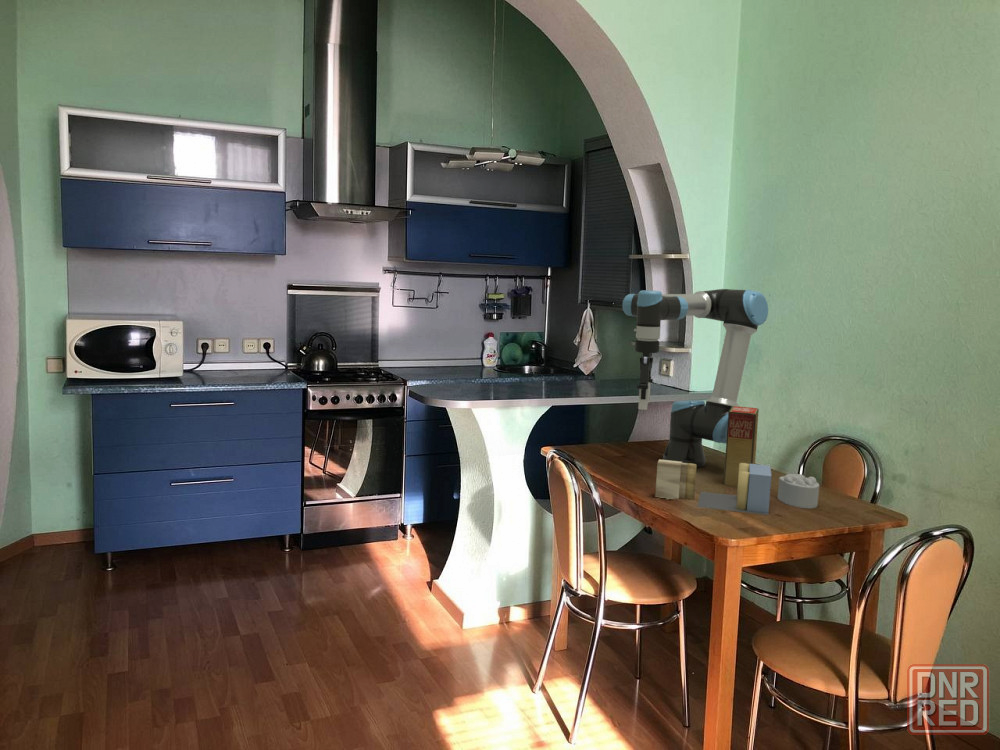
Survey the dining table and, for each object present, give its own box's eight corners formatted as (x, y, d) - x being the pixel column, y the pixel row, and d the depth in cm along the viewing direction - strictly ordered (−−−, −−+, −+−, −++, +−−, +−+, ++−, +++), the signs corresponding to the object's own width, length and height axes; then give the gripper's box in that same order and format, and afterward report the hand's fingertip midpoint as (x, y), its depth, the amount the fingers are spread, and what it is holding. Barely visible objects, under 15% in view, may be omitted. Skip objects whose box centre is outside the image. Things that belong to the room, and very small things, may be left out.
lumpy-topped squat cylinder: (804, 498, 262) (807, 471, 261) (825, 510, 250) (828, 482, 248) (773, 498, 261) (775, 471, 260) (792, 510, 248) (795, 482, 247)
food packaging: (726, 477, 285) (731, 405, 282) (754, 480, 282) (760, 408, 279) (721, 486, 273) (727, 411, 270) (751, 490, 270) (758, 414, 267)
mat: (700, 493, 263) (700, 491, 263) (766, 500, 258) (766, 498, 257) (697, 508, 246) (697, 506, 246) (768, 516, 240) (768, 514, 240)
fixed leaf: (736, 497, 258) (739, 462, 257) (767, 500, 256) (770, 465, 254) (736, 509, 245) (739, 472, 243) (768, 513, 242) (771, 476, 241)
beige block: (656, 493, 260) (659, 459, 259) (694, 498, 257) (697, 463, 256) (655, 497, 256) (657, 462, 254) (693, 502, 252) (696, 466, 251)
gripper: (638, 335, 276) (635, 398, 279) (632, 342, 252) (629, 411, 255) (661, 336, 274) (657, 400, 277) (657, 344, 250) (654, 413, 253)
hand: (644, 405), depth 266 cm, fingers open, 13 cm apart
